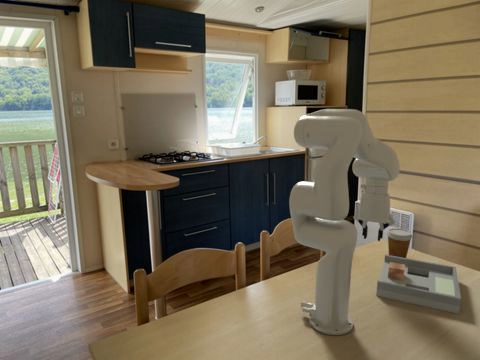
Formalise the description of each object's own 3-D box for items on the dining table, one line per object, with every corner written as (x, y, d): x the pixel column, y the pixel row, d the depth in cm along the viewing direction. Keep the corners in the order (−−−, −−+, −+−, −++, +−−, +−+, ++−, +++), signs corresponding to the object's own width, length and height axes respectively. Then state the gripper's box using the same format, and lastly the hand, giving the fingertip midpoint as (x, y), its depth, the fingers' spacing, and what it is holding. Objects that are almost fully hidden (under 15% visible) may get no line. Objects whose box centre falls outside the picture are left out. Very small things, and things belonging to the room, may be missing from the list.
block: (387, 277, 130) (388, 267, 130) (389, 272, 135) (390, 261, 134) (403, 280, 128) (404, 270, 127) (404, 274, 133) (405, 264, 132)
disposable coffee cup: (413, 264, 147) (416, 236, 145) (389, 264, 147) (392, 235, 145) (403, 254, 156) (406, 228, 154) (381, 254, 156) (383, 227, 154)
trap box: (376, 295, 123) (377, 281, 122) (384, 266, 145) (385, 254, 144) (459, 313, 113) (461, 298, 112) (454, 279, 135) (455, 266, 134)
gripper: (349, 189, 129) (346, 238, 133) (401, 194, 122) (396, 246, 126) (353, 184, 136) (350, 231, 140) (402, 189, 129) (398, 239, 132)
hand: (372, 238), depth 133 cm, fingers open, 4 cm apart
